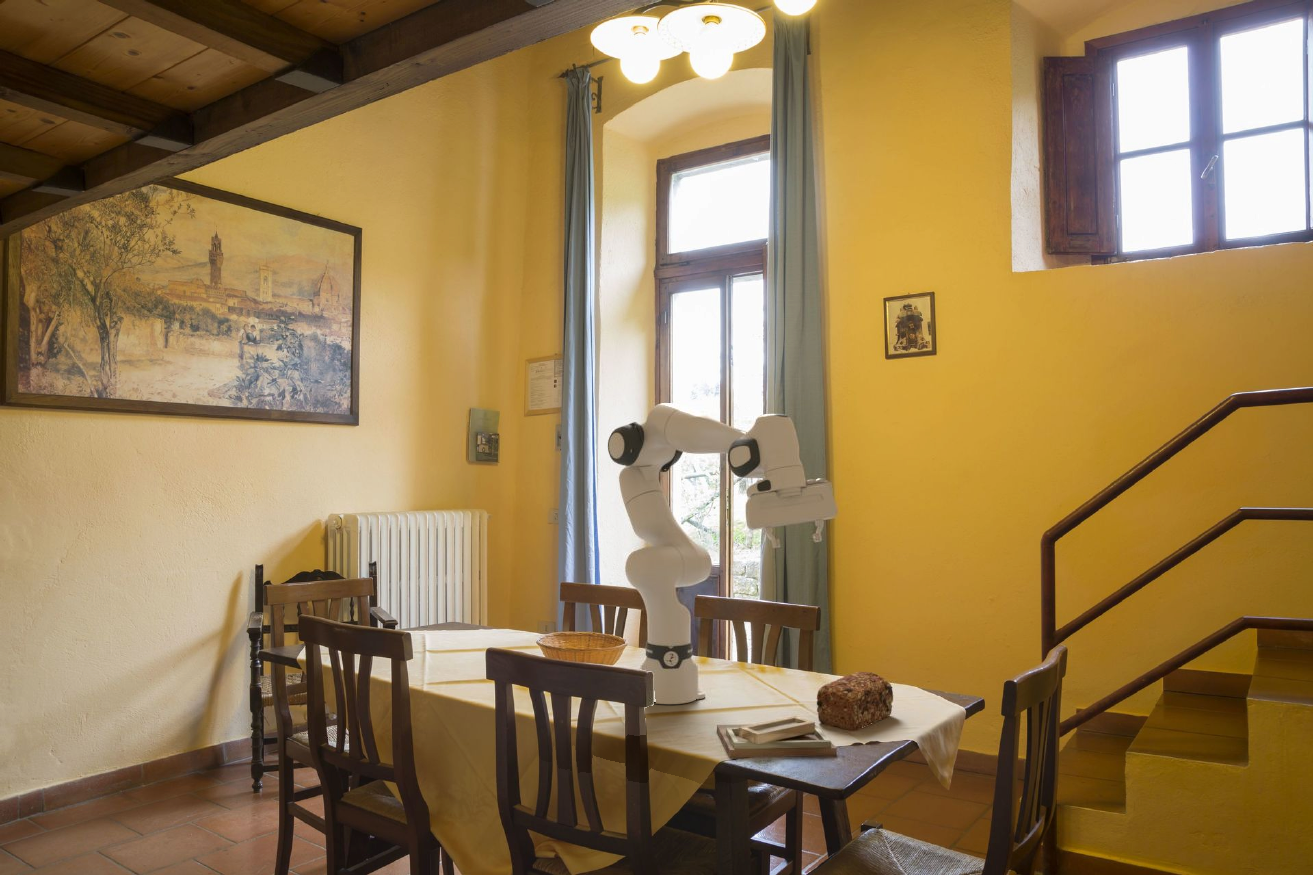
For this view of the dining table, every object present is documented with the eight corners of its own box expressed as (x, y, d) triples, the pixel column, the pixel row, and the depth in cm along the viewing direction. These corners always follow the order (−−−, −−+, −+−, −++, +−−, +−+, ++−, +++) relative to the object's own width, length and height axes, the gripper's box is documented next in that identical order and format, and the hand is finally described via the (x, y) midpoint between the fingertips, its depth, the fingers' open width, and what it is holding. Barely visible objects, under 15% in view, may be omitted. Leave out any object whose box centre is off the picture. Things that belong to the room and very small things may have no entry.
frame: (738, 737, 182) (738, 727, 182) (795, 725, 191) (795, 715, 191) (757, 744, 177) (757, 734, 177) (814, 731, 186) (814, 722, 186)
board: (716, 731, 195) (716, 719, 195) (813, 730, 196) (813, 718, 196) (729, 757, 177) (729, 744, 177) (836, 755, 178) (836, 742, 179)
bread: (856, 708, 216) (856, 667, 216) (895, 717, 208) (895, 674, 209) (814, 723, 202) (814, 680, 202) (855, 733, 195) (855, 688, 195)
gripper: (826, 479, 199) (838, 539, 196) (739, 491, 197) (750, 552, 194) (834, 474, 193) (847, 536, 190) (745, 486, 191) (756, 549, 188)
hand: (797, 544), depth 192 cm, fingers open, 8 cm apart
